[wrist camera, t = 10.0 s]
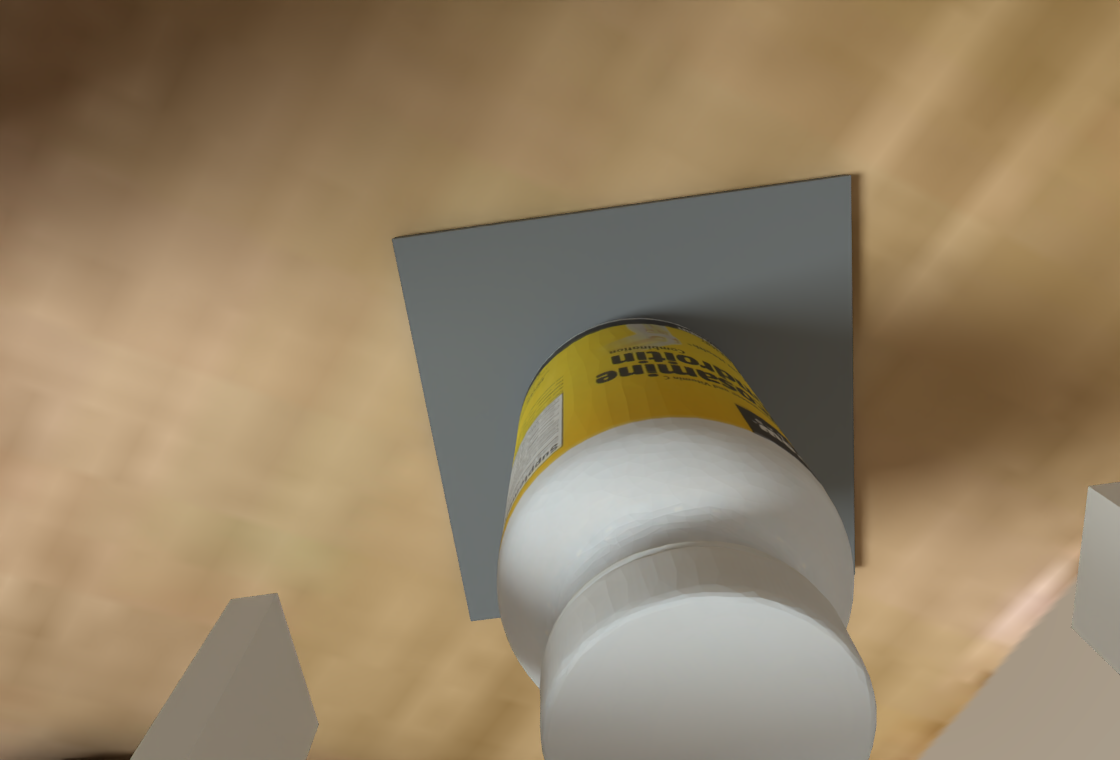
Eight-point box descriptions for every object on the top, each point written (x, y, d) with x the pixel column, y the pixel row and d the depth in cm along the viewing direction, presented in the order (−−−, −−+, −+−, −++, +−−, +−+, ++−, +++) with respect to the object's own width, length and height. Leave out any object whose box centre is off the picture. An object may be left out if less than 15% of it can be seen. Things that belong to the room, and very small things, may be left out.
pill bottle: (792, 422, 21) (1045, 741, 10) (626, 560, 23) (692, 969, 12) (638, 260, 20) (741, 431, 9) (470, 420, 21) (379, 737, 10)
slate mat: (471, 613, 24) (470, 621, 23) (394, 237, 20) (392, 239, 20) (850, 567, 23) (854, 574, 23) (845, 174, 20) (851, 175, 19)
